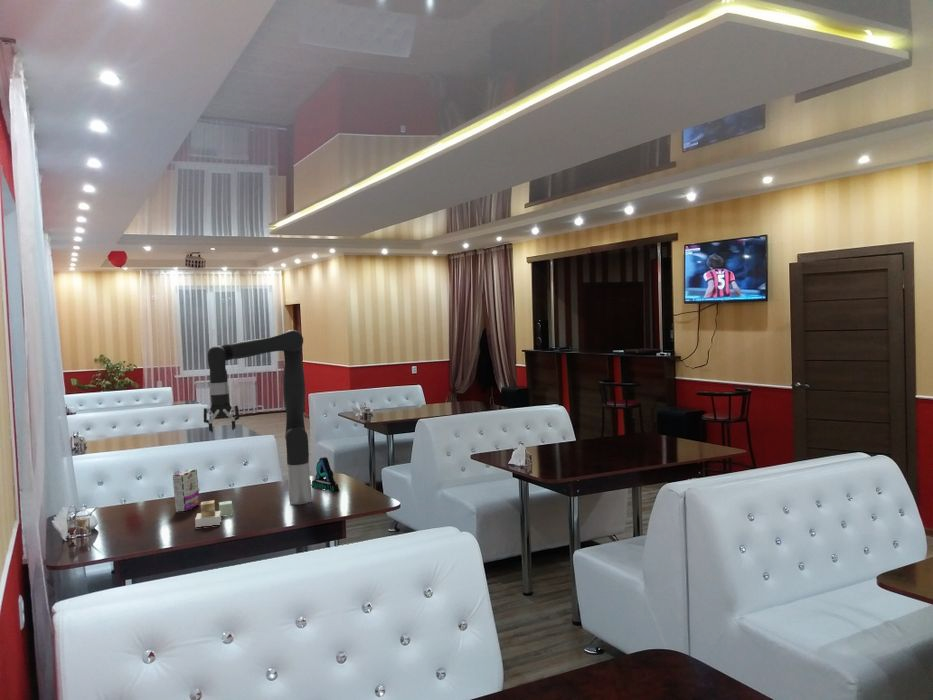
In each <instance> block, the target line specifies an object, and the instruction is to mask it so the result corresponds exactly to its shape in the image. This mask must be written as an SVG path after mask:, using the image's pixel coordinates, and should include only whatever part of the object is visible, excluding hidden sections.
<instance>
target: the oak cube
mask: <svg viewBox="0 0 933 700" xmlns="http://www.w3.org/2000/svg"><path fill="white" fill-rule="evenodd" d="M215 505H216V504H215V499H213V500H205V501H201V502H200V513H201V517H208V516H215V511H216V506H215Z"/></svg>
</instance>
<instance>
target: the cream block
mask: <svg viewBox="0 0 933 700" xmlns="http://www.w3.org/2000/svg"><path fill="white" fill-rule="evenodd" d="M222 518H223V517H221V511H219V510H215V516H208V517H201V512H200V513H199V512H198V513H196V516H195V518H194V523H195V524H194V525H195V528H196V527H201V526H212V525H220V526H221V524H220V522H221V523H222V520H221V519H222ZM212 527H213V526H212Z"/></svg>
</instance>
